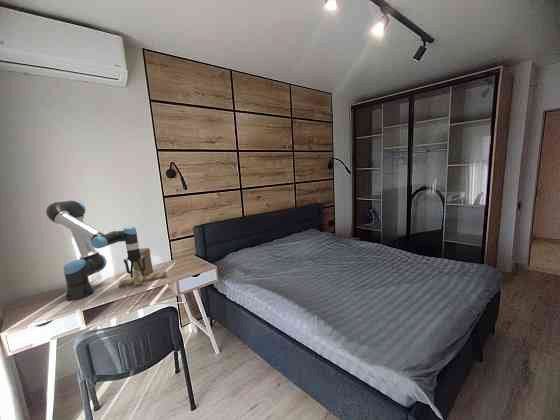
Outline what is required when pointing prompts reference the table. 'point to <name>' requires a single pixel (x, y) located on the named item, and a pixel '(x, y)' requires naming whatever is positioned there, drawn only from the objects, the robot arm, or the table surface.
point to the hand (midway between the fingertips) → (138, 280)
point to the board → (145, 279)
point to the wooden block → (148, 262)
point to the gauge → (137, 276)
